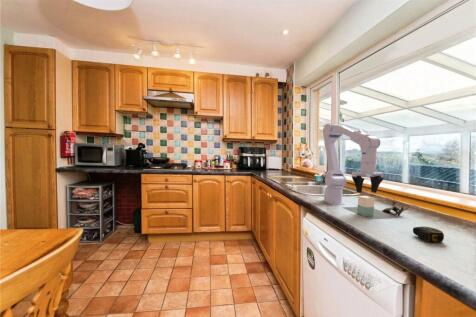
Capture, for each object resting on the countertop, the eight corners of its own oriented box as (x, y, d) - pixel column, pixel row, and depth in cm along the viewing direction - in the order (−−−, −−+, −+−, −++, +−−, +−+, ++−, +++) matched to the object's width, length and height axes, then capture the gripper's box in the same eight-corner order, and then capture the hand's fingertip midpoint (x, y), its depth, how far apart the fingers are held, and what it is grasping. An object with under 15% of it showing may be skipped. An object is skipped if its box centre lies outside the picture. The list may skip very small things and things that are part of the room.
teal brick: (357, 213, 99) (357, 204, 99) (365, 212, 100) (366, 204, 99) (364, 216, 94) (364, 207, 94) (373, 215, 95) (373, 207, 95)
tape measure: (411, 235, 75) (412, 224, 75) (433, 237, 74) (434, 226, 74) (424, 243, 69) (425, 232, 69) (449, 245, 68) (450, 234, 67)
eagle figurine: (412, 214, 97) (396, 205, 106) (406, 201, 95) (390, 193, 104) (395, 223, 97) (381, 213, 107) (389, 210, 96) (375, 201, 105)
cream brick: (357, 204, 99) (358, 196, 98) (366, 204, 99) (367, 196, 99) (365, 207, 94) (365, 198, 94) (374, 207, 95) (374, 198, 95)
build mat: (341, 208, 108) (341, 207, 108) (369, 207, 111) (369, 206, 111) (369, 219, 91) (369, 218, 91) (401, 218, 93) (401, 218, 93)
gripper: (360, 163, 92) (358, 194, 92) (389, 163, 94) (387, 194, 95) (349, 162, 99) (347, 191, 99) (376, 162, 101) (374, 191, 102)
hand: (366, 192), depth 98 cm, fingers open, 7 cm apart
